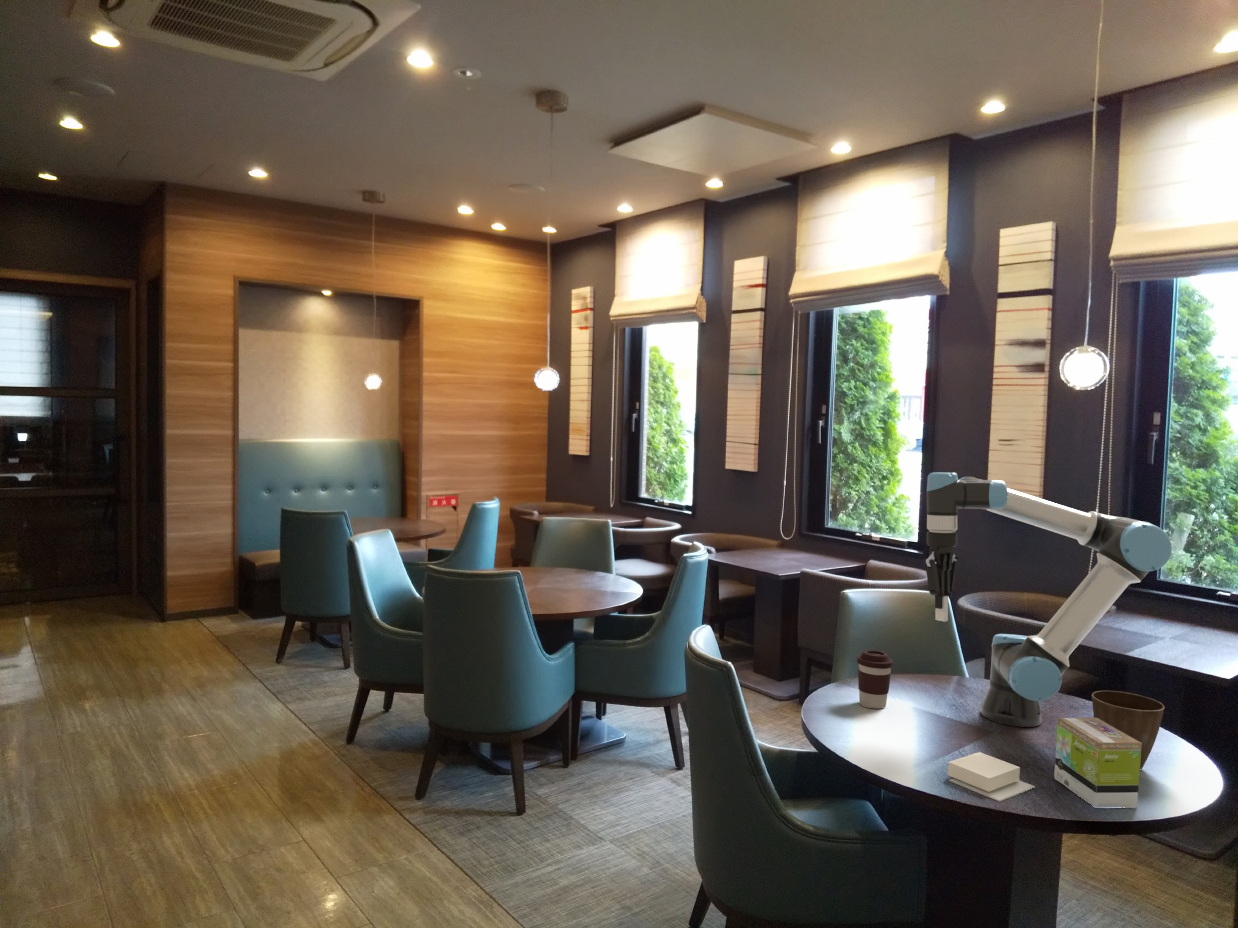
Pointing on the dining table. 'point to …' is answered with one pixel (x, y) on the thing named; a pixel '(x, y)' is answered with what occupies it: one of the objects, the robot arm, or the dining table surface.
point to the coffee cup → (874, 678)
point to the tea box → (1098, 762)
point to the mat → (998, 793)
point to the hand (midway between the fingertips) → (941, 620)
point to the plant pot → (1130, 716)
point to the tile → (983, 771)
